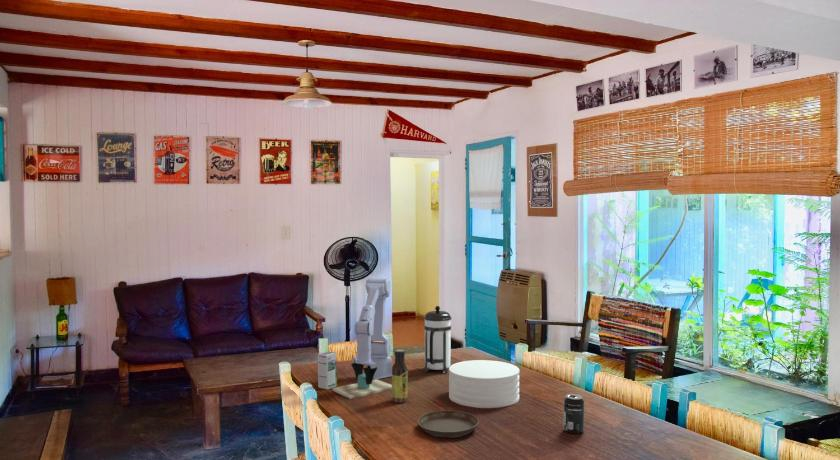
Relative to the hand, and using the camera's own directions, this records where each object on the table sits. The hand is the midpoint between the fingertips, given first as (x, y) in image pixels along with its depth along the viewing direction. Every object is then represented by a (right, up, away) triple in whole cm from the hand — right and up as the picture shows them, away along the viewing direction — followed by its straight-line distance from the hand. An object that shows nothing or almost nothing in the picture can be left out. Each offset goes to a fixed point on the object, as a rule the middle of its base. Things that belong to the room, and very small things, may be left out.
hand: (364, 382), depth 258 cm
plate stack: (+49, -4, -9) cm, 50 cm away
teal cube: (0, -2, 0) cm, 2 cm away
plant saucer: (+33, -5, -45) cm, 56 cm away
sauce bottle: (+15, -4, -15) cm, 21 cm away
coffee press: (+31, -2, +30) cm, 43 cm away
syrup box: (-16, -3, +4) cm, 17 cm away
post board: (0, -3, 0) cm, 3 cm away
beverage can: (+75, -5, -48) cm, 89 cm away
